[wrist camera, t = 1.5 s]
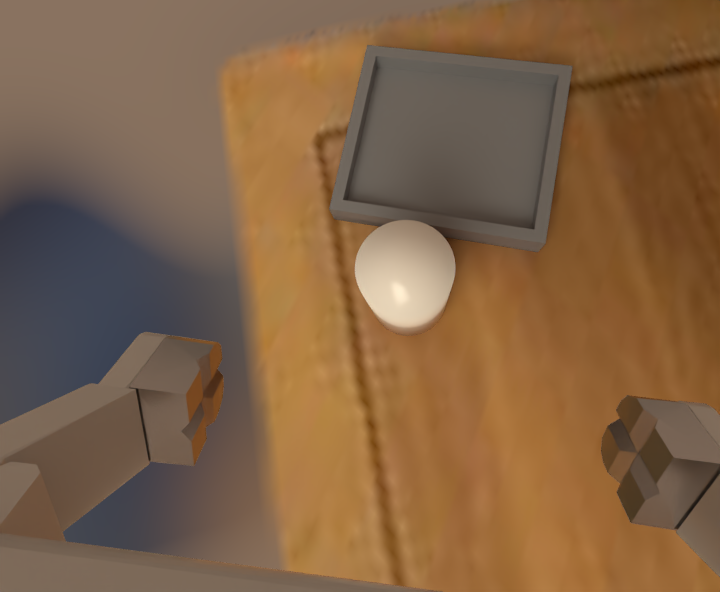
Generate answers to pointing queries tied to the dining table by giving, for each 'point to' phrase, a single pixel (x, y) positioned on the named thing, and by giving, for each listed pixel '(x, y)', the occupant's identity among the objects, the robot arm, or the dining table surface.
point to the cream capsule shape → (406, 275)
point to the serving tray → (454, 145)
